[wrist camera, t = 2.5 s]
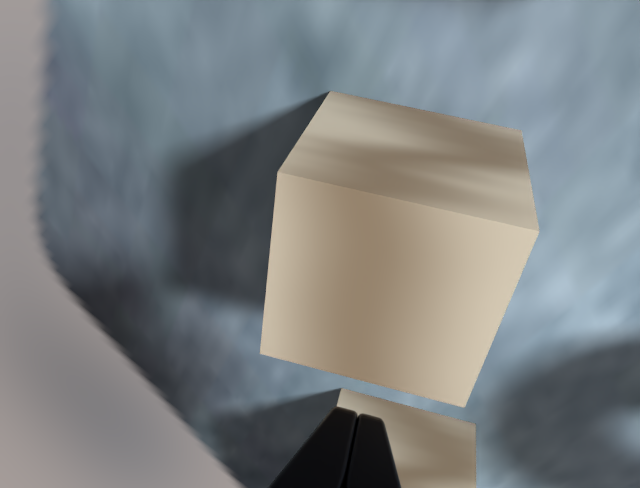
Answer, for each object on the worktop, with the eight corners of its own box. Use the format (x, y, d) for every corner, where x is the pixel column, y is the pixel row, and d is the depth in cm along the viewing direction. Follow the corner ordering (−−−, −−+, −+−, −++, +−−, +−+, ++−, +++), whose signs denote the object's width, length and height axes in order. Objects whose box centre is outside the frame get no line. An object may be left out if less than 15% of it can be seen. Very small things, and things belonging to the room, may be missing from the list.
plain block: (520, 129, 14) (539, 230, 10) (467, 281, 17) (464, 408, 13) (330, 90, 15) (277, 172, 11) (308, 243, 18) (259, 353, 14)
